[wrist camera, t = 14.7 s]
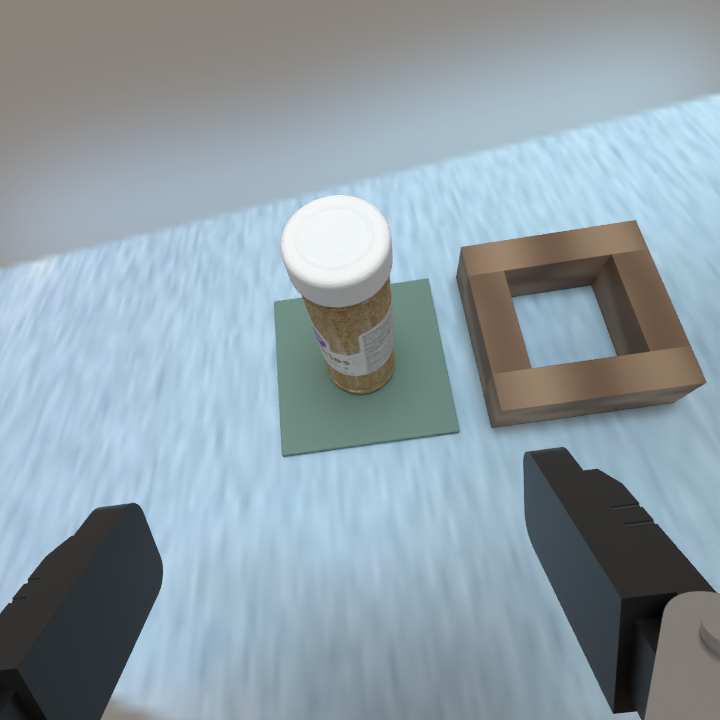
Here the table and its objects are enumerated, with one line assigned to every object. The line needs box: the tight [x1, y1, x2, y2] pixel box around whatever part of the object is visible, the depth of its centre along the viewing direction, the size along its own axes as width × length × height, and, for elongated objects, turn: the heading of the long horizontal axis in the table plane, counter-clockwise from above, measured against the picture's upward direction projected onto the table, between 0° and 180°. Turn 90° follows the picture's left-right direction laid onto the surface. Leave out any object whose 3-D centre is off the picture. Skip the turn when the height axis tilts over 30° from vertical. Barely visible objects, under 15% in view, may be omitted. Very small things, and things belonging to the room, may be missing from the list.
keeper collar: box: [456, 220, 707, 428], centre depth 30 cm, size 11×11×4 cm
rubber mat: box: [274, 279, 460, 457], centre depth 32 cm, size 11×11×1 cm
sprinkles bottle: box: [281, 195, 395, 394], centre depth 25 cm, size 5×5×13 cm
